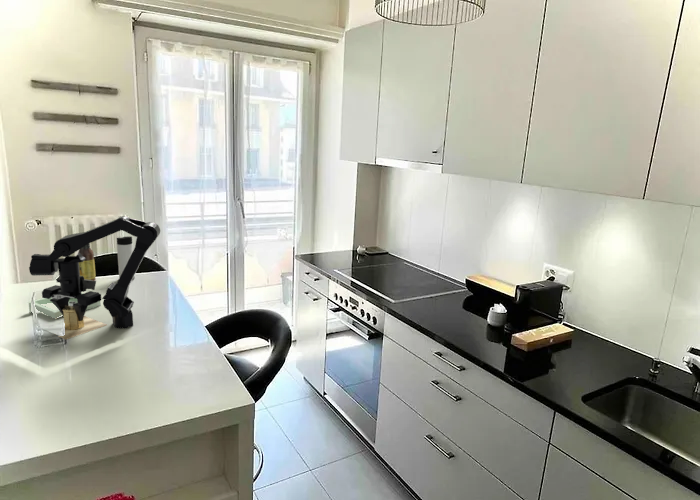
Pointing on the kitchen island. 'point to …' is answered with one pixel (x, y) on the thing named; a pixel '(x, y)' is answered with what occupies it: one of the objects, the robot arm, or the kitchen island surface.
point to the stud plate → (83, 328)
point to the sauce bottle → (87, 263)
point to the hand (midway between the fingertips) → (74, 319)
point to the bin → (53, 312)
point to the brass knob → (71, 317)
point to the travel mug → (124, 252)
